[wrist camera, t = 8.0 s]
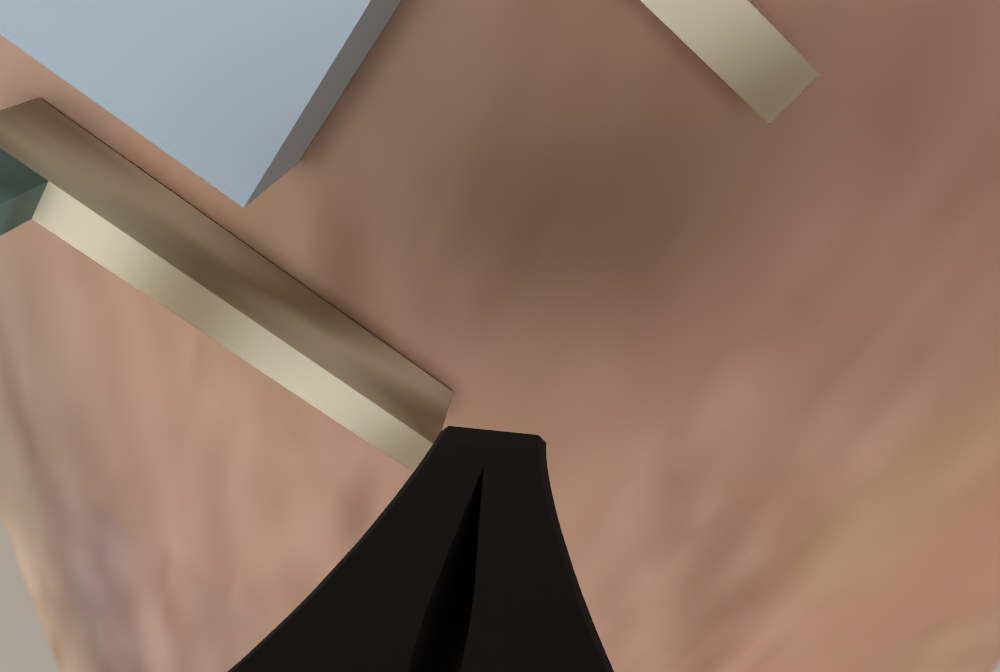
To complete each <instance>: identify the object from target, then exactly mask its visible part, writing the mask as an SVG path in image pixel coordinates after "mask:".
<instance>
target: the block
mask: <svg viewBox="0 0 1000 672" xmlns="http://www.w3.org/2000/svg"><path fill="white" fill-rule="evenodd" d="M400 2H401V0H0V35H2V36H3V37H5V38H6V39H7V40H9V41H10V42H12V43H13V44H14V45H16V46H17V47H19V48H20V49H21V50H23V51H24V52H26V53H27V54H28V55H30V56H31V57H33V58H34V59H35V60H37V61H38V62H40V63H41V64H42V65H44V66H45V67H47V68H48V69H49V70H51V71H52V72H54V73H55V74H56V75H58V76H59V77H61V78H62V79H63V80H65V81H66V82H68V83H69V84H70V85H72V86H73V87H75V88H76V89H77V90H79V91H80V92H82V93H83V94H84V95H86V96H87V97H89V98H90V99H91V100H93V101H94V102H96V103H97V104H98V105H100V106H101V107H103V108H104V109H106V110H107V111H108V112H110V113H111V114H113V115H114V116H115V117H117V118H118V119H120V120H121V121H122V122H124V123H125V124H127V125H128V126H129V127H131V128H132V129H134V130H135V131H136V132H138V133H139V134H141V135H142V136H143V137H145V138H146V139H148V140H149V141H150V142H152V143H153V144H155V145H156V146H157V147H159V148H160V149H162V150H163V151H164V152H166V153H167V154H169V155H170V156H171V157H173V158H174V159H176V160H177V161H178V162H180V163H181V164H183V165H184V166H185V167H187V168H188V169H190V170H191V171H192V172H194V173H195V174H197V175H198V176H199V177H201V178H202V179H204V180H205V181H206V182H208V183H209V184H211V185H212V186H213V187H215V188H216V189H218V190H219V191H221V192H222V193H223V194H225V195H226V196H228V197H229V198H230V199H232V200H233V201H235V202H236V203H237V204H239V205H240V206H242V207H243V208H244V207H245V206H246V205H248V204H249V203H250V202H251V201H252V200H254V199H255V198H256V197H257V196H259V195H260V194H261V193H262V192H263V191H265V190H266V189H267V188H268V187H269V186H271V185H272V184H273V183H274V182H276V181H277V180H278V179H279V178H280V177H282V176H283V175H284V174H285V173H286V172H288V171H289V170H290V169H291V168H293V167H294V166H295V165H296V164H297V163H298V162H299V161H300V159H301V157H302V156H303V154H304V153H305V151H306V150H307V148H308V146H309V145H310V143H311V142H312V140H313V139H314V137H315V135H316V134H317V132H318V131H319V129H320V128H321V126H322V125H323V123H324V121H325V120H326V118H327V117H328V115H329V114H330V112H331V110H332V109H333V107H334V106H335V104H336V103H337V101H338V99H339V98H340V96H341V95H342V93H343V92H344V90H345V88H346V87H347V85H348V84H349V82H350V81H351V79H352V77H353V76H354V74H355V73H356V71H357V70H358V68H359V66H360V65H361V63H362V62H363V60H364V59H365V57H366V55H367V54H368V52H369V51H370V49H371V48H372V46H373V44H374V43H375V41H376V40H377V38H378V37H379V35H380V33H381V32H382V30H383V29H384V27H385V26H386V24H387V22H388V21H389V19H390V18H391V16H392V15H393V13H394V11H395V10H396V8H397V7H398V5H399V4H400Z"/></svg>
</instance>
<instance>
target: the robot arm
mask: <svg viewBox="0 0 1000 672" xmlns="http://www.w3.org/2000/svg"><path fill="white" fill-rule="evenodd" d="M228 672H614V671H613V669H612V666H611V664H610V662H609V659H608V657H607V655H606V653H605V650H604V648H603V645H602V643H601V641H600V638H599V636H598V633H597V631H596V629H595V626H594V623H593V621H592V618H591V616H590V613H589V611H588V608H587V605H586V603H585V600H584V598H583V595H582V592H581V589H580V587H579V584H578V581H577V578H576V575H575V573H574V570H573V566H572V563H571V560H570V557H569V554H568V551H567V547H566V544H565V541H564V538H563V535H562V531H561V528H560V524H559V521H558V517H557V513H556V509H555V505H554V500H553V496H552V491H551V487H550V481H549V476H548V469H547V459H546V442H545V441H544V440H543V439H542V438H541V437H540V436H539V435H531V434H522V433H512V432H502V431H492V430H483V429H473V428H463V427H453V426H448V427H447V428H445V429H444V430H442V431H441V432H440V433H439V435H438V437H437V438H436V440H435V442H434V443H433V445H432V446H431V448H430V449H429V451H428V452H427V454H426V455H425V457H424V458H423V460H422V461H421V463H420V464H419V465H418V467H417V468H416V470H415V471H414V472H413V474H412V475H411V476H410V478H409V479H408V480H407V482H406V483H405V484H404V486H403V487H402V488H401V490H400V491H399V492H398V494H397V495H396V496H395V497H394V499H393V500H392V501H391V502H390V504H389V505H388V506H387V507H386V509H385V510H384V511H383V512H382V513H381V515H380V516H379V517H378V518H377V520H376V521H375V522H374V523H373V525H372V526H371V527H370V528H369V529H368V531H367V532H366V533H365V534H364V535H363V537H362V538H361V539H360V540H359V541H358V542H357V544H356V545H355V546H354V547H353V548H352V549H351V550H350V551H349V552H348V553H347V555H346V556H345V557H344V558H343V559H342V560H341V561H340V562H339V563H338V564H337V565H336V567H335V568H334V569H333V570H332V571H331V572H330V573H329V574H328V575H327V576H326V577H325V579H324V580H323V581H322V582H321V583H320V584H319V585H318V586H317V587H316V588H315V589H314V590H313V591H312V593H311V594H310V595H309V596H308V597H307V598H306V599H305V600H304V601H303V602H302V603H301V604H300V605H299V606H298V607H297V608H296V609H295V610H294V611H293V612H292V613H291V614H290V615H289V616H288V617H287V618H286V619H285V620H284V621H282V622H281V623H280V624H279V625H278V626H277V627H276V628H275V629H274V630H273V631H272V632H271V633H270V634H269V635H268V636H267V637H266V638H265V639H263V640H262V641H261V642H260V643H259V644H258V645H257V646H256V647H255V648H254V649H253V650H252V651H251V652H250V653H248V654H247V655H246V656H245V657H244V658H243V659H242V660H241V661H240V662H238V663H237V664H236V665H235V666H234V667H233V668H231V669H230V670H229V671H228Z"/></svg>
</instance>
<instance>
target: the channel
mask: <svg viewBox="0 0 1000 672" xmlns="http://www.w3.org/2000/svg"><path fill="white" fill-rule="evenodd" d="M640 1H641V2H643V3H644V4H645V5H646V6H647V7H648V8H649V9H650V10H651V11H652V12H653V13H654V14H655V15H656V16H657V17H658V18H659V19H660V20H661V21H662V22H663V23H664V24H665V25H666V26H667V27H668V28H670V29H671V30H672V31H673V32H674V33H675V34H676V35H677V36H678V37H679V38H680V39H681V40H682V41H683V42H684V43H685V44H686V45H687V46H688V47H689V48H690V49H691V50H692V51H693V52H694V53H696V54H697V55H698V56H699V57H700V58H701V59H702V60H703V61H704V62H705V63H706V64H707V65H708V66H709V67H710V68H711V69H712V70H713V71H714V72H715V73H716V74H717V75H718V76H719V77H720V78H722V79H723V80H724V81H725V82H726V83H727V84H728V85H729V86H730V87H731V88H732V89H733V90H734V91H735V92H736V93H737V94H738V95H739V96H740V97H741V98H742V99H743V100H744V101H745V102H746V103H747V104H749V105H750V106H751V107H752V108H753V109H754V110H755V111H756V112H757V113H758V114H759V115H760V116H761V117H762V118H763V119H764V120H765V121H766V122H767V123H768V124H770V123H771V122H772V121H773V120H774V119H775V118H776V117H777V116H778V115H779V114H780V113H781V112H782V111H783V110H784V109H785V108H786V107H787V106H788V105H789V104H790V103H791V102H792V101H793V100H794V99H795V98H796V97H797V96H798V95H799V94H800V93H801V92H803V91H804V90H805V89H806V88H807V87H808V86H809V85H810V84H811V83H812V82H813V81H814V80H815V79H816V78H817V77H818V76H819V75H820V73H819V72H818V71H817V70H816V69H815V68H814V67H813V66H812V65H811V64H810V63H809V62H808V61H807V60H806V59H805V58H804V57H803V56H802V55H801V54H800V53H799V52H798V51H797V50H796V49H795V48H794V47H793V46H792V45H791V44H790V43H789V42H788V41H787V40H786V39H785V37H784V36H783V35H782V34H781V33H780V32H779V31H778V30H777V29H776V28H775V27H774V26H773V25H772V24H771V23H770V22H769V21H768V20H767V19H766V18H765V17H764V16H763V15H762V14H761V13H760V12H759V11H758V10H757V9H756V8H755V7H754V6H753V5H752V4H751V3H750V2H749V1H748V0H640ZM30 219H33V220H34V221H36V222H37V223H39V224H40V225H42V226H43V227H45V228H46V229H48V230H49V231H51V232H52V233H54V234H55V235H57V236H58V237H60V238H61V239H63V240H64V241H66V242H67V243H69V244H70V245H72V246H73V247H75V248H76V249H78V250H79V251H81V252H82V253H84V254H85V255H87V256H88V257H90V258H91V259H93V260H94V261H96V262H97V263H99V264H100V265H102V266H103V267H105V268H106V269H108V270H109V271H111V272H112V273H114V274H115V275H117V276H118V277H120V278H121V279H123V280H124V281H126V282H128V283H129V284H131V285H132V286H134V287H135V288H137V289H138V290H140V291H141V292H143V293H144V294H146V295H147V296H149V297H150V298H152V299H153V300H155V301H156V302H158V303H159V304H161V305H162V306H164V307H165V308H167V309H168V310H170V311H171V312H173V313H174V314H176V315H177V316H179V317H180V318H182V319H183V320H185V321H186V322H188V323H189V324H191V325H192V326H194V327H195V328H197V329H198V330H200V331H201V332H203V333H204V334H206V335H207V336H209V337H210V338H212V339H213V340H215V341H216V342H218V343H219V344H221V345H222V346H224V347H225V348H227V349H228V350H230V351H231V352H233V353H234V354H236V355H237V356H239V357H240V358H242V359H243V360H245V361H246V362H248V363H249V364H251V365H252V366H254V367H255V368H257V369H258V370H260V371H261V372H263V373H264V374H266V375H267V376H269V377H270V378H272V379H273V380H275V381H276V382H278V383H279V384H281V385H282V386H284V387H285V388H287V389H288V390H290V391H291V392H293V393H294V394H296V395H297V396H299V397H300V398H302V399H303V400H305V401H306V402H308V403H309V404H311V405H312V406H314V407H315V408H317V409H319V410H320V411H322V412H323V413H325V414H326V415H328V416H329V417H331V418H332V419H334V420H335V421H337V422H338V423H340V424H341V425H343V426H344V427H346V428H347V429H349V430H350V431H352V432H353V433H355V434H356V435H358V436H359V437H361V438H362V439H364V440H365V441H367V442H368V443H370V444H371V445H373V446H374V447H376V448H377V449H379V450H380V451H382V452H383V453H385V454H386V455H388V456H389V457H391V458H392V459H394V460H395V461H397V462H398V463H400V464H401V465H403V466H404V467H406V468H407V469H409V470H410V471H412V470H413V469H414V468H415V467H416V466H417V465H418V464H419V463H420V462H421V461H422V460H423V458H424V457H425V455H426V454H427V452H428V451H429V449H430V448H431V446H432V445H433V443H434V442H435V440H436V438H437V437H438V435H439V433H440V432H441V431H442V427H443V424H444V420H445V417H446V414H447V410H448V407H449V403H450V400H451V396H452V393H453V392H452V391H451V390H450V389H448V388H447V387H445V386H444V385H443V384H441V383H440V382H438V381H437V380H436V379H434V378H433V377H431V376H430V375H428V374H427V373H426V372H424V371H423V370H421V369H420V368H419V367H417V366H416V365H414V364H413V363H412V362H410V361H409V360H407V359H406V358H405V357H403V356H402V355H400V354H399V353H398V352H396V351H395V350H393V349H392V348H391V347H389V346H388V345H386V344H385V343H384V342H382V341H381V340H379V339H378V338H377V337H375V336H374V335H372V334H371V333H369V332H368V331H367V330H365V329H364V328H362V327H361V326H360V325H358V324H357V323H355V322H354V321H353V320H351V319H350V318H348V317H347V316H346V315H344V314H343V313H341V312H340V311H339V310H337V309H336V308H334V307H333V306H332V305H330V304H329V303H327V302H326V301H325V300H323V299H322V298H320V297H319V296H317V295H316V294H315V293H313V292H312V291H310V290H309V289H308V288H306V287H305V286H303V285H302V284H301V283H299V282H298V281H296V280H295V279H294V278H292V277H291V276H289V275H288V274H287V273H285V272H284V271H282V270H281V269H280V268H278V267H277V266H275V265H274V264H273V263H271V262H270V261H268V260H267V259H266V258H264V257H263V256H261V255H260V254H258V253H257V252H256V251H254V250H253V249H251V248H250V247H249V246H247V245H246V244H244V243H243V242H242V241H240V240H239V239H237V238H236V237H235V236H233V235H232V234H230V233H229V232H228V231H226V230H225V229H223V228H222V227H221V226H219V225H218V224H216V223H215V222H214V221H212V220H211V219H209V218H208V217H207V216H205V215H204V214H202V213H201V212H199V211H198V210H197V209H195V208H194V207H192V206H191V205H190V204H188V203H187V202H185V201H184V200H183V199H181V198H180V197H178V196H177V195H176V194H174V193H173V192H171V191H170V190H169V189H167V188H166V187H164V186H163V185H162V184H160V183H159V182H157V181H156V180H155V179H153V178H152V177H150V176H149V175H147V174H146V173H145V172H143V171H142V170H140V169H139V168H138V167H136V166H135V165H133V164H132V163H131V162H129V161H128V160H126V159H125V158H124V157H122V156H121V155H119V154H118V153H117V152H115V151H114V150H112V149H111V148H110V147H108V146H107V145H105V144H104V143H103V142H101V141H100V140H98V139H97V138H96V137H94V136H93V135H91V134H90V133H88V132H87V131H86V130H84V129H83V128H81V127H80V126H79V125H77V124H76V123H74V122H73V121H72V120H70V119H69V118H67V117H66V116H65V115H63V114H62V113H60V112H59V111H58V110H56V109H55V108H53V107H52V106H51V105H49V104H48V103H46V102H45V101H44V100H42V99H41V98H37V99H34V100H31V101H28V102H25V103H22V104H19V105H16V106H13V107H10V108H7V109H4V110H1V111H0V235H2V234H4V233H6V232H8V231H10V230H12V229H13V228H15V227H17V226H19V225H21V224H23V223H24V222H26V221H28V220H30Z"/></svg>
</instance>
